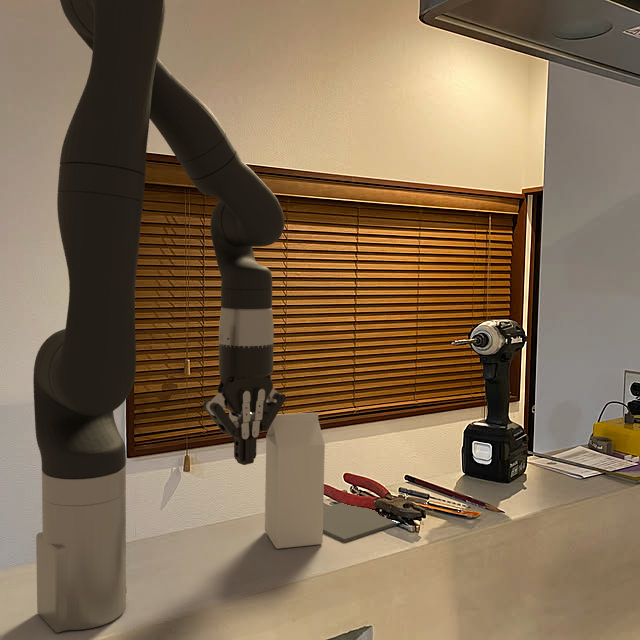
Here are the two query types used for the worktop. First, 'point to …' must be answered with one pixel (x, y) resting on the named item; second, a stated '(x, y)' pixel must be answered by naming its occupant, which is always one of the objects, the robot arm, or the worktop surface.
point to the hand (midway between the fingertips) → (245, 462)
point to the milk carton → (294, 480)
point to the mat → (352, 521)
